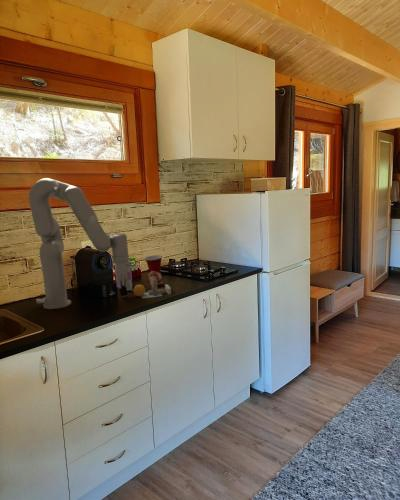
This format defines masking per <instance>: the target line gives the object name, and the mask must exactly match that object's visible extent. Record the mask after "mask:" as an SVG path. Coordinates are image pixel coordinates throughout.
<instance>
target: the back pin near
mask: <svg viewBox="0 0 400 500" xmlns="http://www.w3.org/2000/svg"><path fill="white" fill-rule="evenodd" d="M152 289H153V296H157V295H158V291H157V290H158V285H157V279H152Z"/></svg>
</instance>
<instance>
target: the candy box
mask: <svg viewBox="0 0 400 500" xmlns="http://www.w3.org/2000/svg"><path fill="white" fill-rule="evenodd" d="M126 264H127V282H126V287H127V292H132V291H133V289H134V287H133V275H132V273H133V271H132V260H131V259H129V262H126ZM114 272H115V274H116V266H115V265H114ZM115 282H116V288H117V289H119V290H120V282H119V283H117V278H116V277H115Z"/></svg>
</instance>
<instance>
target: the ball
mask: <svg viewBox="0 0 400 500" xmlns="http://www.w3.org/2000/svg"><path fill="white" fill-rule="evenodd" d="M132 291H133V295H135V296H136V297H141V296H143V295H144V293H146V288H145V286H144V285H142V284H141V283H140V284H136V285H135V286H134V287H133V290H132Z"/></svg>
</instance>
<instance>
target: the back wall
mask: <svg viewBox="0 0 400 500" xmlns="http://www.w3.org/2000/svg"><path fill="white" fill-rule="evenodd" d="M164 289H165V290H166V294H167V295H172V288H171V287H170V285H169V284H166V283H165V284H164Z"/></svg>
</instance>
